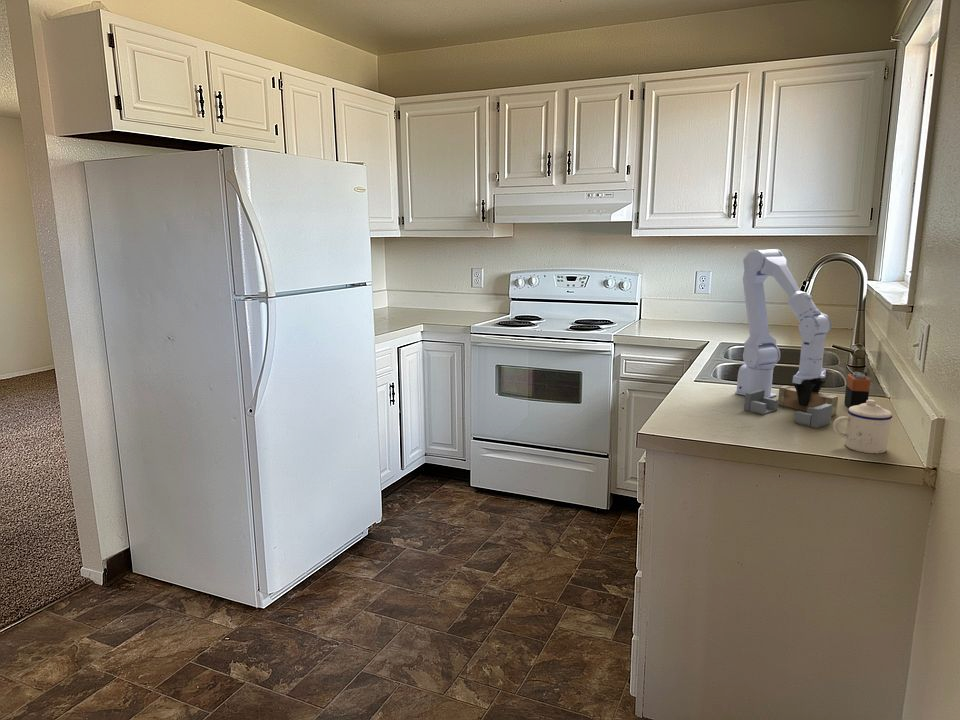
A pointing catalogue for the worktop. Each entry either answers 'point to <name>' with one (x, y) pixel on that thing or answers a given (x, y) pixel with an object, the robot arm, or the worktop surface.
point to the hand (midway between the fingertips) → (806, 404)
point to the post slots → (811, 418)
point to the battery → (856, 389)
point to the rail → (816, 399)
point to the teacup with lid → (866, 427)
